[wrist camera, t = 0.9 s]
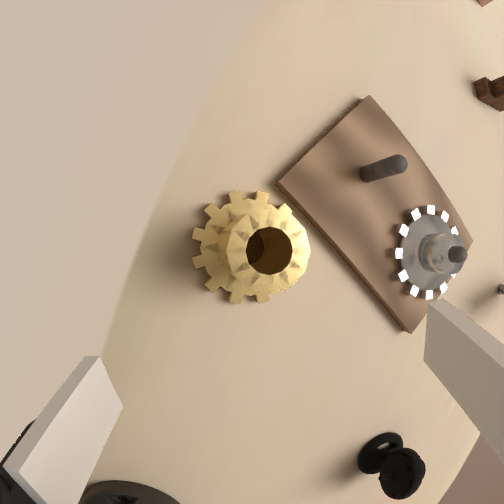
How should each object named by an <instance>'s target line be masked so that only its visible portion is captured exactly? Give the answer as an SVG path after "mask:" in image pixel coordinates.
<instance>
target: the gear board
mask: <svg viewBox="0 0 504 504" xmlns="http://www.w3.org/2000/svg"><path fill="white" fill-rule="evenodd" d="M275 185H276V186H277V187H278V188H279V189H280V190H281V191H282V192H283V193H284V194H285V195H286V196H287V197H288V198H289V199H290V200H291V201H292V202H293V203H294V205H295V206H296V207H297V208H298V209H299V210H300V211H301V212H302V213H303V214H304V215H305V216H306V217H307V218H308V220H309V221H310V222H311V223H312V224H313V225H314V226H315V227H316V228H317V229H318V230H319V232H320V233H321V234H322V235H323V236H324V237H325V238H326V239H327V240H328V242H329V243H330V244H331V245H332V246H333V247H334V248H335V249H336V251H337V252H338V253H339V254H340V255H341V256H342V257H343V258H344V260H345V261H346V262H347V263H348V264H349V265H350V266H351V268H352V269H353V270H354V271H355V272H356V273H357V275H358V276H359V277H360V278H361V279H362V280H363V282H364V283H365V284H366V285H367V286H368V287H369V289H370V290H371V291H372V292H373V293H374V295H375V296H376V297H377V298H378V299H379V301H380V302H381V303H382V304H383V305H384V307H385V308H386V309H387V310H388V311H389V313H390V314H391V315H392V316H393V317H394V319H395V320H396V321H397V322H398V324H399V325H400V326H401V327H402V329H403V330H404V331H406V332H408V333H411V334H412V332H413V331H414V330H415V328H416V327H417V326H418V324H419V323H420V322H421V320H422V319H423V318H424V316H425V315H426V313H427V303H428V302H431V301H435V300H436V299H437V298H438V296H439V295H440V293H437V292H436V291H435V289H434V290H433V295H432V299H422V298H420V289H419V291H418V293H417V295H416V297H414V296H410V295H408V294H407V293H405V292H404V290H405V288H406V285H407V284H408V283H407V282H406V281H403V282H397V281H396V280H395V278H394V275H393V272H395V271H396V270H397V269H398V268H399V267H398V262H397V258H390V248H397V245H398V240H399V236H397V235H396V234H395V233H394V229H395V227H396V225H397V224H404V225H406V224H407V222H408V219H407V216H406V214H405V213H406V212H407V211H409V210H410V209H415V208H417V209H418V211H419V213H420V215H422V209H421V206H424V205H432V206H434V215H436V214H437V211H445V212H446V213H447V214H448V215H449V217H448V219H447V222H446V223H447V224H448V226H455V227H456V229H457V232H458V234H457V235H458V236H460V238H461V239H462V241H463V243H464V246H465V248H464V247H462V246H452V247H450V249H449V252H448V258H449V260H450V262H452V263H463V262H464V261H465V260H466V258H467V251H468V249H469V247H470V246H471V244H472V242H473V239H472V238H471V236H470V234H469V232H468V230H467V229H466V227H465V225H464V224H463V222H462V220H461V218H460V217H459V215H458V213H457V212H456V210H455V208H454V207H453V205H452V204H451V202H450V200H449V199H448V197H447V196H446V194H445V193H444V191H443V189H442V188H441V186H440V185H439V183H438V182H437V180H436V179H435V177H434V176H433V175H432V173H431V172H430V170H429V169H428V167H427V166H426V165H425V163H424V162H423V160H422V159H421V158H420V156H419V155H418V153H417V152H416V151H415V149H414V148H413V147H412V145H411V144H410V143H409V142H408V140H407V139H406V138H405V136H404V135H403V134H402V133H401V131H400V130H399V129H398V128H397V126H396V125H395V124H394V123H393V121H392V120H391V119H390V118H389V117H388V115H387V114H386V113H385V112H384V111H383V110H382V108H381V107H380V106H379V105H378V104H377V103H376V101H375V100H374V99H373V98H372V97H371V96H370V95H368V96H367V97H366V98H364V99H363V100H362V101H361V102H360V103H359V104H358V105H357V106H355V107H354V108H353V109H352V110H351V111H350V112H349V113H348V114H347V115H346V116H345V117H344V118H343V119H342V120H340V121H339V122H338V123H337V124H336V125H335V126H334V127H333V128H332V129H331V130H330V131H329V132H328V133H327V134H326V135H325V136H324V137H323V138H321V139H320V140H319V141H318V142H317V143H316V144H315V145H314V146H313V147H312V148H311V149H310V150H309V151H308V152H307V153H306V154H305V155H304V156H303V157H302V158H301V159H300V160H299V161H298V162H297V163H295V164H294V165H293V166H292V167H291V168H290V169H289V170H288V171H287V172H286V173H285V174H284V175H283V176H282V177H281V178H280V179H279V180H278V181H277V182H276V183H275ZM450 278H451V277H448V278H447V280H446V281H445V283H446V285H447V283H448V281H449V280H450Z"/></svg>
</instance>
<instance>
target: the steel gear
mask: <svg viewBox="0 0 504 504" xmlns="http://www.w3.org/2000/svg"><path fill="white" fill-rule="evenodd" d="M421 209H422V215H420V213H419V211H418V209H417V208H415V209H410V210H409V211H407V212H406V213H405V214H406V216H407V219H408V222H407V224H406V225H404V224H397V225H396V227H395V229H394V233H395V234H396V235H397V236H399V240H398V245H397V248H390V258H397V262H398V267H399V268H398V269H397V270H396V271H395V272H393V275H394V278H395V280H396V281H397V282H403V281H406V282H407V283H408V284H407V285H406V288H405V290H404V292H405V293H407V294H408V295H410V296H414V297H416V295H417V293H418V291H419V289H420V298H422V299H432V295H433V290H434V289H435V291H436V292H437V293H443V292H444V291H445V290H446V289H447V286H446V283H445V281H446V280H447V278H448V277H452V278H454V277H455V275H456V273H458V272H459V271H460V269H461V268H462V266H463V264H464V262H463V263H452V262H450V260H449V258H448V252H449V249H450V247H452V246H462V247H464V248H465V246H464V243H463V241H462V239H461V238H460V236H458V235H457V234H458V232H457V229H456V227H455V226H448V224H447V223H446V222H447V219H448V217H449V215H448V214H447V213H446V212H445V211H437V214H436V215H434V206H432V205H424V206H421Z"/></svg>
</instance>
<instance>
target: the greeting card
mask: <svg viewBox="0 0 504 504" xmlns="http://www.w3.org/2000/svg"><path fill="white" fill-rule="evenodd" d="M491 1H493V0H478V2H479V3H480V4H481V6H482V7H483V6H485V5H486V4H488V3H489V2H491Z"/></svg>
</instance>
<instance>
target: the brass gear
mask: <svg viewBox="0 0 504 504" xmlns="http://www.w3.org/2000/svg"><path fill="white" fill-rule="evenodd" d="M227 195H228V198H229V202H230V203H229V204H226V205H224V206H223V207H222V208H221V209H219V208H218V207H217V206H216V205H215V204H214V203H213V202H212V203H211V204H210V205H209V206H208V207H207V208H206V209H205V210H204V212H205V213H206V214H207V215H208V216H209V217H210V218H211V219H210V220H209V221H208V222H207V223H206V226H205V230H204V229H200V228H197V227H194V231H193V235H192V239H195V240H199V241H201V245H200V250H201V254H200V255H197V256H193V257H192V260H193V264H194V267H195V269H197V268H201V267H204V266H205V268H206V271H207V273H208V274H209V275H210V276H211V277H210V278H209V279H208V280H207V281H206V282H205V283H204V284H205V286H206V287H207V288H208V289H209V290H210V291H211V292H212V293H214V292H215V291H216V290H217V289H218V288H219V287H220V286H221V287H222V288H224V289H225V290H226V291H230V294H229V298H228V300H229V302H232V303H236V304H241V302H242V298H243V295H247V296H252V295H255V298H256V301H257V302H258V303H259V304H260V303H263V302H266V301H269V296H268V294H272V293H275V292H278V291H281V290H286V289H287V288H290V287H291V286H292V285H293V284H294V283H295V282H296V281H297V280H298V279H299V278H300V277H301V275H302V274H303V273H304V272H305V270H306V266H307V262H308V258H309V254H310V246H309V242H308V238H307V234H306V230H305V228H304V227H303V226H302V225H301V224H300V223H299V222H298V221H297V220H296V219H295V218H294V217H293V216H292V215H291V214H290V213H291V212H292V210H291V209H290V208H289V207H288V206H287V205H286V204H285V203H284V204H281V205H280V206H279V207H278V208H277V209H276V208H275V207H274V206H273V205H270V204H267V201H268V197H269V193H266V192H262V191H259V190H258V191H257V192H256V194H255V198H254V200H253V199H250V198H249V199H245V200H243V199H242V195H241V191H240V190H238V191H234V192H230V193H228V194H227ZM255 231H256V232H257V233H258V234H259V235H260V236H261V237H262V238H263V242H264V246H265V248H264V252H263V256H262V257H261V258H260V259H259V260H258V261H257V262H256V263H252V264H249V263H248V259H247V256H246V252H245V250H246V247H247V243H248V239H249V238H250V237H251V236H252V235H253V234H254V233H255Z"/></svg>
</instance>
